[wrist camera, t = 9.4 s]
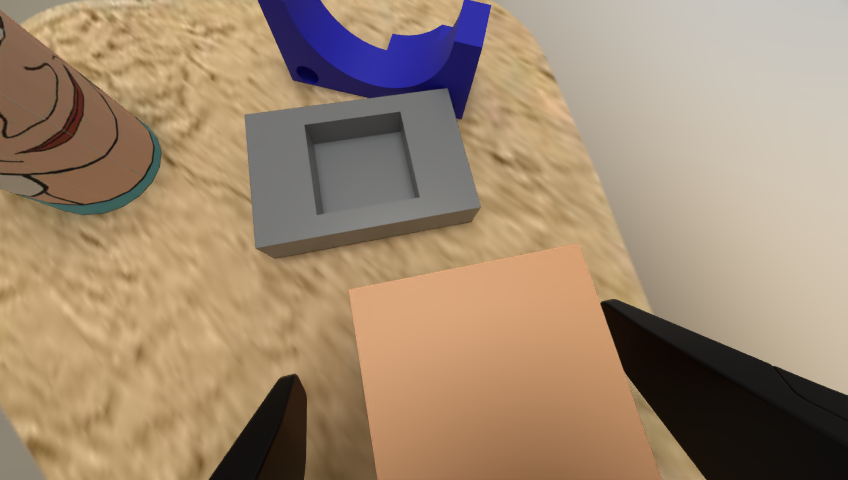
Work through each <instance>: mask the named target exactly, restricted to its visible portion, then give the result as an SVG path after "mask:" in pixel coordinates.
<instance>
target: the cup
mask: <svg viewBox="0 0 848 480" xmlns="http://www.w3.org/2000/svg"><path fill="white" fill-rule="evenodd" d="M160 158H161V149H160V146H159V142H158V139H157V137H156V136H155V135H154V133H153V132H152V131H151V130H150V129H149V127H148V126H146V125H145V124H144V123H143V122H141V121H140V120H139V119H137V118H136V117H135V116H134V115H132V114H131V113H130V112H129V111H127V110H126V109H125V108H124V107H122V106H121V105H120V104H118V103H117V102H116V101H115V100H113V99H112V98H111V97H110V96H108V95H107V94H106V93H105V92H103V91H102V90H101V89H100V88H98V87H97V86H96V85H94V84H93V83H92V82H91V81H89V80H88V79H87V78H86V77H84V76H83V75H82V74H81V73H79V72H78V71H77V70H76V69H74V68H73V67H72V66H70V65H69V64H68V63H67V62H65V61H64V60H63V59H62V58H60V57H59V56H58V55H57V54H55V53H54V52H53V51H51V50H50V49H49V48H48V47H46V46H45V45H44V44H43V43H41V42H40V41H39V40H38V39H36V38H35V37H34V36H33V35H31V34H30V33H29V32H27V31H26V30H25V29H24V28H22V27H21V26H20V25H19V24H17V23H16V22H15V21H14V20H12V19H11V18H10V17H8V16H7V15H6V14H5V13H3V12H2V11H1V10H0V189H3V190H6V191H9V192H11V193H14V194H17V195H20V196H23V197H26V198H29V199H32V200H35V201H37V202H40V203H43V204H46V205H49V206H52V207H55V208H58V209H61V210H64V211H67V212H72V213H77V214H82V215H89V214H101V213H106V212H109V211H112V210H114V209H117V208H120V207H123V206H124V205H126V204H128V203H129V202H131V201H132V200H134V199H135V198H137V197H138V196H140V195H141V194H142V193H143V191H144V190H145V189H146V188H147V187H148V186H149V185H150V184H151V183H152V181H153V179H154V177H155V175H156V173H157V171H158V169H159V167H160Z"/></svg>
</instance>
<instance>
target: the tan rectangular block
mask: <svg viewBox="0 0 848 480" xmlns="http://www.w3.org/2000/svg"><path fill="white" fill-rule="evenodd" d="M349 295H350V302H351V308H352V315H353V321H354V328H355V335H356V341H357V348H358V354H359V361H360V368H361V374H362V381H363V387H364V394H365V401H366V407H367V414H368V420H369V427H370V434H371V440H372V447H373V453H374V460H375V467H376V473H377V480H662V479H661V476H660V473H659V470H658V467H657V464H656V461H655V459H654V456H653V453H652V450H651V447H650V444H649V442H648V439H647V436H646V433H645V430H644V427H643V424H642V422H641V419H640V416H639V413H638V410H637V407H636V404H635V402H634V399H633V396H632V393H631V390H630V387H629V385H628V382H627V379H626V376H625V373H624V370H623V367H622V365H621V362H620V359H619V356H618V353H617V350H616V348H615V345H614V342H613V339H612V336H611V333H610V330H609V328H608V325H607V322H606V319H605V316H604V313H603V310H602V308H601V305H600V302H599V299H598V296H597V293H596V291H595V288H594V285H593V282H592V279H591V276H590V273H589V271H588V268H587V265H586V262H585V259H584V256H583V253H582V251H581V248H580V245H579V243H577V244H572V245H567V246H562V247H557V248H552V249H547V250H542V251H537V252H532V253H527V254H523V255H518V256H513V257H508V258H503V259H498V260H493V261H488V262H483V263H478V264H473V265H468V266H463V267H458V268H453V269H448V270H443V271H438V272H433V273H429V274H424V275H419V276H414V277H409V278H404V279H399V280H394V281H389V282H384V283H379V284H374V285H369V286H364V287H359V288H354V289H349Z"/></svg>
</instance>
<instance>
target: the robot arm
mask: <svg viewBox="0 0 848 480" xmlns="http://www.w3.org/2000/svg"><path fill="white" fill-rule="evenodd" d="M600 305H601V308H602V310H603V313H604V316H605V319H606V322H607V325H608V328H609V330H610V333H611V336H612V339H613V342H614V345H615V348H616V350H617V353H618V356H619V359H620V362H621V365H622V367H623V370H624V372H625V373H626V375H627V376H628V377H629V379H630V380H631V382H632V383H633V384H634V385H635V387H636V388H637V389H638V391H639V392H640V393H641V395H642V396H643V397H644V399H645V400H646V401H647V403H648V404H649V405H650V406H651V408H652V409H653V410H654V412H655V413H656V414H657V416H658V417H659V418H660V420H661V421H662V422H663V423H664V425H665V426H666V427H667V429H668V430H669V431H670V433H671V434H672V435H673V437H674V438H675V439H676V441H677V442H678V443H679V444H680V446H681V447H682V448H683V450H684V451H685V452H686V454H687V455H688V456H689V458H690V459H691V460H692V462H693V463H694V464H695V465H696V467H697V468H698V469H699V471H700V472H701V473H702V475H703V476H704V477H705V479H706V480H848V395H845V394H843V393H840V392H838V391H835V390H832V389H830V388H827V387H825V386H822V385H820V384H817V383H815V382H812V381H810V380H807V379H805V378H803V377H800V376H798V375H795V374H793V373H790V372H788V371H785V370H783V369H781V368H779V367H776V366H772V365H771V364H769V363H766V362H764V361H762V360H759V359H757V358H755V357H752V356H750V355H747V354H745V353H742V352H740V351H738V350H736V349H733V348H731V347H728V346H726V345H723V344H721V343H719V342H716V341H714V340H712V339H709V338H707V337H704V336H702V335H700V334H697V333H695V332H693V331H690V330H688V329H685V328H683V327H681V326H678V325H676V324H673V323H671V322H669V321H666V320H664V319H662V318H659V317H657V316H655V315H652V314H650V313H647V312H645V311H643V310H640V309H638V308H636V307H633V306H631V305H628V304H626V303H624V302H621V301H619V300H616V299H610V300H606V301H602V302H601V303H600ZM306 429H307V396H306V392H305V390H304V388H303V386H302V383H301V381H300V379H299V377H298V376H297V375H296V374H292V375H287V376H283V377H281V378H280V379H278V381H277V382H276V384H275V385H274V386H273V388H272V389H271V391H270V392H269V394H268V395H267V397H266V398H265V399H264V401H263V402H262V404H261V405H260V407H259V408H258V409H257V411H256V412H255V414H254V415H253V417H252V418H251V419H250V421H249V422H248V424H247V425H246V427H245V428H244V430H243V431H242V432H241V434H240V435H239V437H238V438H237V440H236V441H235V442H234V444H233V445H232V447H231V448H230V450H229V451H228V452H227V454H226V455H225V457H224V458H223V460H222V461H221V463H220V464H219V465H218V467H217V468H216V470H215V471H214V473H213V474H212V475H211V477H210V478H209V480H304V474H305V464H306Z"/></svg>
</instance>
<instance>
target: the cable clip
mask: <svg viewBox="0 0 848 480" xmlns="http://www.w3.org/2000/svg"><path fill="white" fill-rule="evenodd" d="M258 2H259V4H260V7H261V9H262V11H263V13H264V16H265V18H266V20H267V22H268V25H269V27H270V29H271V31H272V34H273V36H274V38H275V41H276V43H277V45H278V47H279V50H280V52H281V54H282V56H283V59H284V61H285V63H286V65H287V68H288V70H289V72H290V75H291V77H292V79H293V80H294V81H298V82H303V83H307V84H311V85H316V86H320V87H324V88H329V89H333V90H337V91H341V92H346V93H350V94H354V95H359V96H363V97H367V98H376V97H384V96H391V95H399V94H407V93H414V92H422V91H429V90H437V89H445V88H448V92H449V95H450V99H451V102H452V106H453V109H454V113H455V117H456V118H458V119H462V116H463V112H464V109H465V105H466V102H467V99H468V95H469V92H470V88H471V85H472V81H473V78H474V74H475V71H476V68H477V64H478V61H479V57H480V54H481V50H482V46H483V42H484V37H485V32H486V27H487V23H488V18H489V13H490V8H491V5H488V4H484V3H480V2H475V1H471V0H464V2H463V6H462V9H461V12H460V15H459V17H458V19H457V21H456V23H455V24H454V26H453V27H450V26H446V25H441V26H439V27H438V28H436V29H434V30H432V31H430V32H427V33H424V34H419V35H410V36H407V35H396V34H392V37H391V40H390V43H389V46H388V49H387V50H384V49H381V48H378V47H375V46H373V45H370V44H368V43H366V42H364V41H362V40H361V39H359V38H358V37H356V36H355V35H353V34H352V33H350V32H349V31H348V30H347V29H345V28H344V27H343V26H342V25H341V24H340V23H339V22H338V21H337V20H336V19H335V18H334V17H333V16H332V15H331V14H330V13H329V11H328V10H327V9H326V8H325V6H324V5H323V3H322V2H321V0H258Z"/></svg>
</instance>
